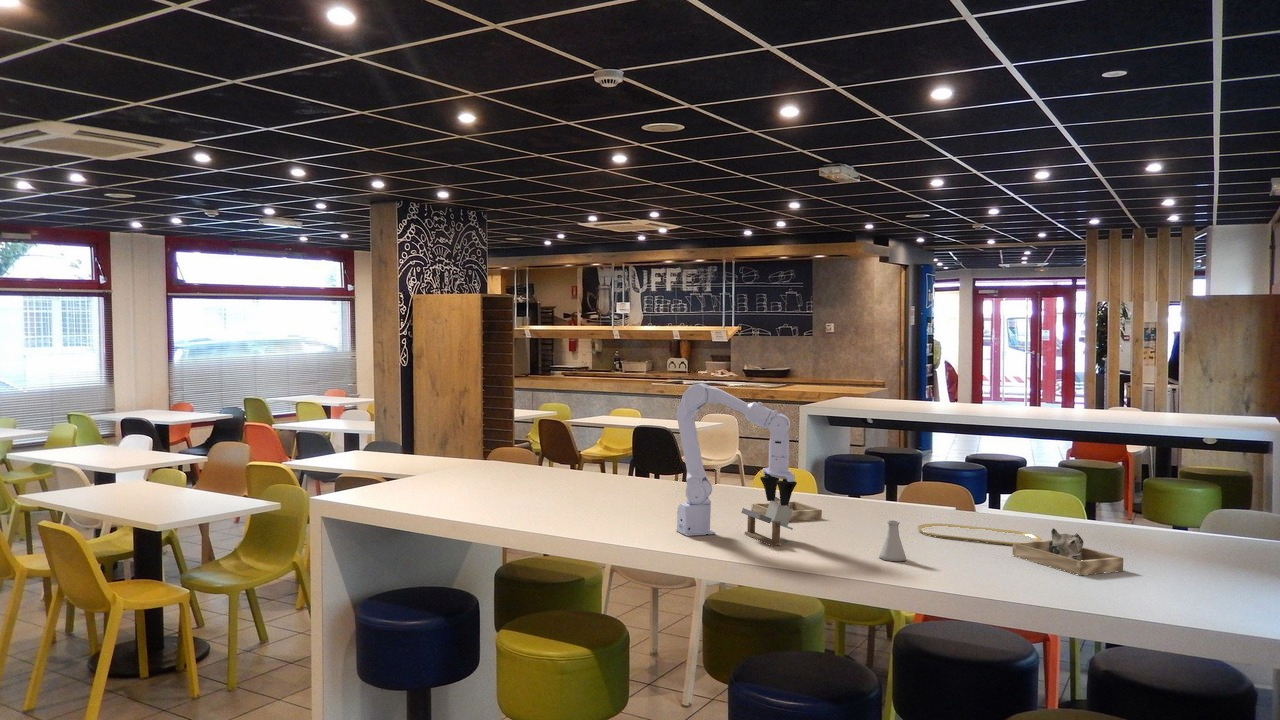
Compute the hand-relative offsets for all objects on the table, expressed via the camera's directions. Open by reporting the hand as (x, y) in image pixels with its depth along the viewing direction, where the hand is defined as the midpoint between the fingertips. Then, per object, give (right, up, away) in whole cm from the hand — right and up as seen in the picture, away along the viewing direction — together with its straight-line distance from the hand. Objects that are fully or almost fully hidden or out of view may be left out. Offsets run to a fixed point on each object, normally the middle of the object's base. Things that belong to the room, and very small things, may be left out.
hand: (777, 503), depth 257 cm
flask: (+27, -12, -21) cm, 36 cm away
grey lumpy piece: (+73, -13, -22) cm, 77 cm away
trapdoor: (-4, -5, -1) cm, 7 cm away
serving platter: (+62, -12, +10) cm, 64 cm away
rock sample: (+6, -10, +34) cm, 36 cm away
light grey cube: (0, -3, 0) cm, 3 cm away
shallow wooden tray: (+73, -13, -22) cm, 77 cm away
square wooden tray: (+8, -10, +36) cm, 38 cm away
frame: (-4, -10, -2) cm, 11 cm away
